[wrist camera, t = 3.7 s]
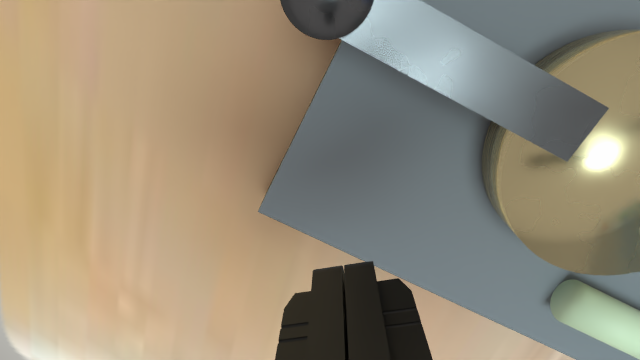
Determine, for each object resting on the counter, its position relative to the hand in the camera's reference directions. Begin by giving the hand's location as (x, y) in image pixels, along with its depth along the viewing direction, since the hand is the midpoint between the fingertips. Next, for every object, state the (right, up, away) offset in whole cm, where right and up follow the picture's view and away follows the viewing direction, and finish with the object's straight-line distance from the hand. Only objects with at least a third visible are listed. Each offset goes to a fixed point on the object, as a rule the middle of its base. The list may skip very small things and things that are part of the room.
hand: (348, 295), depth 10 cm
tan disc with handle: (+6, +6, +5) cm, 10 cm away
